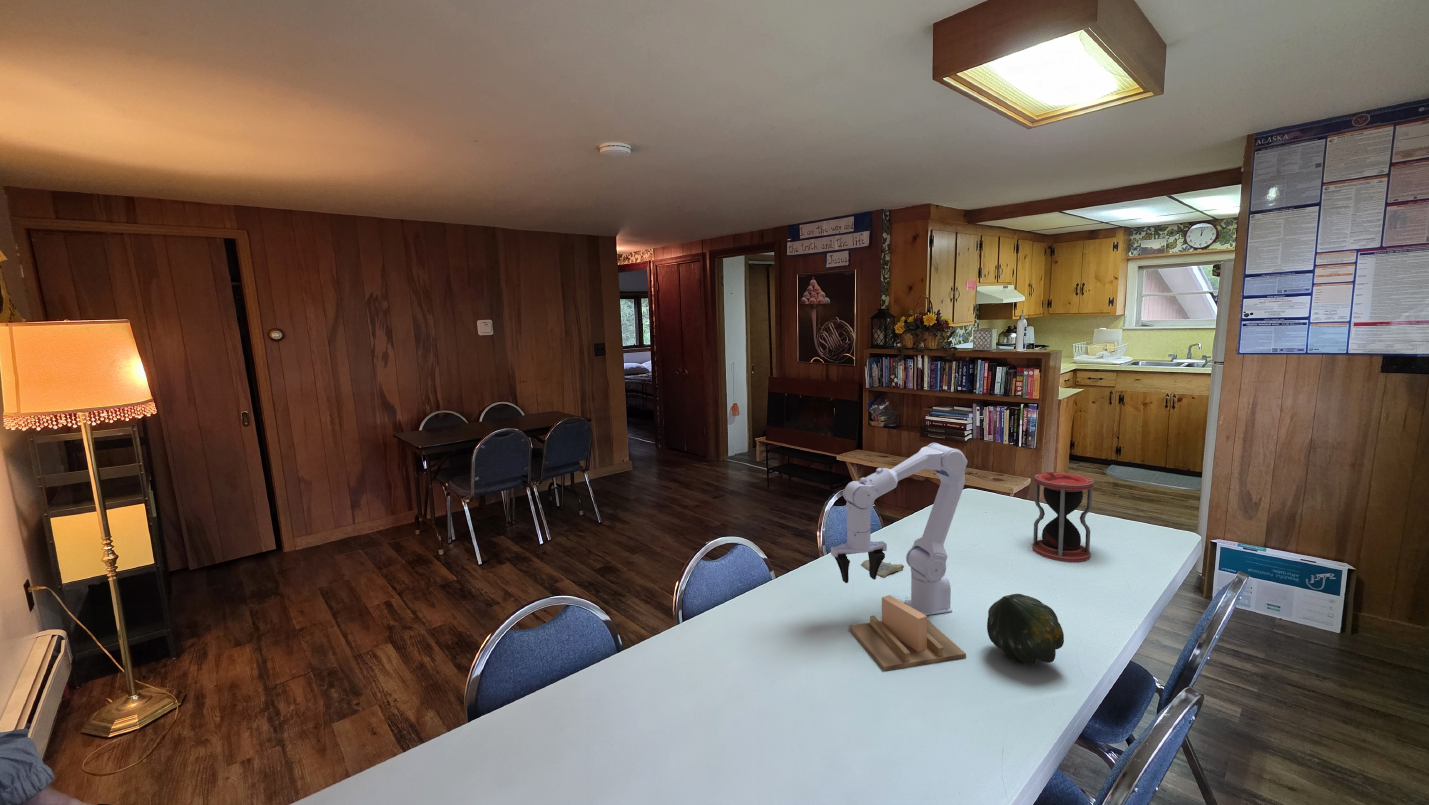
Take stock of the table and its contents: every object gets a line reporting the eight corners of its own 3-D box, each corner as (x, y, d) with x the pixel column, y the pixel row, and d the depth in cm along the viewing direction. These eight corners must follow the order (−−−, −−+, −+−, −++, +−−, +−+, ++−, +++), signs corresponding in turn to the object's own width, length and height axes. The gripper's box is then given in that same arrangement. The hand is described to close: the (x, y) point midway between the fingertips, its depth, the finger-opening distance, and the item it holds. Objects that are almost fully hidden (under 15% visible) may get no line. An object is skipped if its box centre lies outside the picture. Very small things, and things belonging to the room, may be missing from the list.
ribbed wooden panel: (922, 618, 144) (922, 607, 144) (966, 657, 127) (966, 645, 126) (849, 629, 140) (849, 618, 140) (884, 670, 123) (884, 658, 123)
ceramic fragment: (908, 566, 171) (882, 569, 167) (907, 576, 171) (881, 579, 167) (884, 555, 181) (859, 557, 177) (883, 565, 181) (858, 567, 177)
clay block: (889, 625, 140) (889, 595, 139) (926, 649, 129) (926, 616, 128) (881, 628, 139) (881, 597, 138) (918, 651, 128) (918, 618, 127)
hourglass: (1089, 549, 184) (1093, 474, 181) (1091, 567, 170) (1094, 487, 167) (1033, 540, 193) (1035, 469, 190) (1030, 557, 179) (1032, 481, 176)
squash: (1034, 685, 116) (1036, 617, 114) (972, 650, 129) (973, 588, 127) (1075, 664, 123) (1078, 599, 121) (1011, 633, 136) (1013, 574, 134)
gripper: (877, 521, 148) (877, 570, 150) (825, 526, 145) (826, 576, 147) (890, 529, 141) (890, 581, 143) (837, 536, 138) (837, 588, 140)
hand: (859, 579), depth 144 cm, fingers open, 7 cm apart
